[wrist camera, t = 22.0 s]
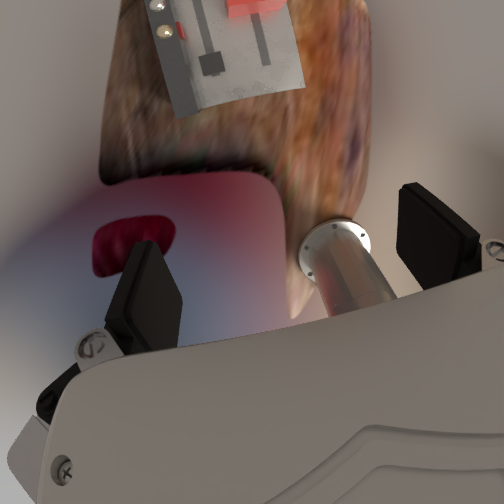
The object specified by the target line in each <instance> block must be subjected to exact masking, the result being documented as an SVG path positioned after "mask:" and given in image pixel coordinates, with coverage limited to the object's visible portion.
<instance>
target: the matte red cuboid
mask: <svg viewBox="0 0 504 504" xmlns="http://www.w3.org/2000/svg"><path fill="white" fill-rule="evenodd" d="M287 1H288V0H224V3H225V6H226V10H227V14H228V18H232V17H238V16H243V15H249V14H255V13H261V12H268V11H276V10H280V9H281V8H282V7H283V6H284V4H285V3H286V2H287Z"/></svg>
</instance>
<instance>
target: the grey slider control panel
mask: <svg viewBox="0 0 504 504" xmlns="http://www.w3.org/2000/svg"><path fill="white" fill-rule="evenodd" d="M144 2H145V6H146V10H147V14H148V18H149V22H150V26H151V30H152V34H153V38H154V41H155V45H156V49H157V53H158V56H159V60H160V64H161V67H162V71H163V75H164V78H165V82H166V85H167V89H168V92H169V96H170V99H171V103H172V106H173V110H174V113H175V117H176V119H179V118H183V117H186V116H190V115H193V114H197V113H199V112H200V111H201V110H202V108H206V107H209V106H213V105H217V104H221V103H225V102H230V101H234V100H238V99H243V98H248V97H252V96H257V95H262V94H268V93H273V92H279V91H285V90H291V89H298V88H305V83H304V78H303V73H302V68H301V63H300V58H299V54H298V49H297V45H296V40H295V36H294V31H293V27H292V23H291V19H290V15H289V11H288V7H287V3H285V4H284V6H283V7H282V8H281V9H280V10H276V11H268V12H261V13H255V14H249V15H243V16H238V17H232V18H228V14H227V10H226V6H225V3H224V0H144ZM218 51H221V55H222V58H223V62H224V66H225V70H226V71H225V72H221V73H217V74H213V75H209V76H203V73H202V69H201V65H200V62H199V58H198V56H202V55H206V54H210V53H214V52H218Z"/></svg>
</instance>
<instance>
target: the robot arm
mask: <svg viewBox="0 0 504 504" xmlns="http://www.w3.org/2000/svg"><path fill="white" fill-rule="evenodd" d="M479 239H480V234H479V233H478V232H477V231H476V230H475V229H473V228H472V227H471V226H470V225H469V224H468V223H467V222H466V221H464V220H463V219H462V218H461V217H460V216H459V215H458V214H456V213H455V212H454V211H453V210H452V209H450V208H449V207H448V206H447V205H445V204H444V203H443V202H442V201H441V200H439V199H438V198H437V197H436V196H434V195H433V194H432V193H431V192H429V191H428V190H427V189H425V188H424V187H423V186H421V185H420V184H419V183H417V182H415V183H409V184H404V185H403V186H402V189H400V190H399V205H398V227H397V242H396V250H397V253H398V255H399V257H400V258H401V259H402V261H403V262H404V264H405V265H406V266H407V268H408V269H409V270H410V272H411V273H412V274H413V276H414V277H415V279H416V280H417V281H418V283H419V284H420V286H421V287H422V289H423V291H420V292H417V293H414V294H411V295H408V296H405V297H401V298H397V296H396V294H395V293H394V291H393V289H392V288H391V286H390V285H389V283H388V281H387V280H386V278H385V277H384V275H383V273H382V272H381V271H380V269H379V267H378V266H377V264H376V263H375V261H374V259H373V258H372V257H371V255H370V247H371V246H370V239H369V236H368V234H367V233H366V231H365V230H364V228H363V227H362V226H361V225H359V224H358V223H356V222H354V221H352V220H349V219H332V220H329V221H326V222H323V223H321V224H319V225H317V226H316V227H315V228H313V229H312V230H311V231H310V232H309V233H308V234H307V235H306V236H305V238H304V239H303V241H302V243H301V245H300V248H299V252H298V261H299V265H300V267H301V270H302V272H303V273H304V275H305V276H306V277H307V278H309V279H310V280H312V281H314V282H316V284H317V286H318V289H319V291H320V294H321V297H322V300H323V303H324V305H325V308H326V311H327V314H328V318H324V319H320V320H316V321H312V322H308V323H303V324H299V325H295V326H290V327H286V328H281V329H276V330H271V331H266V332H262V333H256V334H252V335H246V336H241V337H236V338H230V339H225V340H219V341H213V342H207V343H202V344H196V345H189V346H182V347H177V343H178V335H179V327H180V319H181V312H182V304H183V302H182V296H181V294H180V292H179V290H178V288H177V286H176V283H175V282H174V279H173V277H172V275H171V273H170V271H169V269H168V266H167V264H166V262H165V260H164V258H163V255H162V253H161V251H160V249H159V246H158V244H157V243H156V242H154V243H153V242H152V241H151V240H147V241H143V242H139V243H136V244H135V245H134V248H133V250H132V252H131V254H130V257H129V259H128V261H127V264H126V266H125V268H124V271H123V273H122V276H121V278H120V281H119V283H118V285H117V288H116V291H115V293H114V296H113V298H112V301H111V303H110V306H109V309H108V311H107V314H106V317H105V322H106V324H105V327H104V329H103V328H96V329H92V330H90V331H88V332H87V333H85V334H84V335H83V336H82V337H81V338H80V339H79V341H78V342H77V344H76V346H75V350H74V355H75V359H76V361H77V362H76V363H75V364H74V365H72V366H71V367H70V368H69V369H68V370H67V371H65V372H64V373H63V374H62V375H61V376H60V377H58V378H57V379H56V380H55V381H54V382H53V383H51V384H50V385H49V386H48V387H47V388H46V389H45V390H44V391H43V392H42V393H41V394H40V396H39V398H38V400H37V404H36V411H37V414H38V415H37V417H35V416H34V415H32V417H31V418H30V420H29V421H28V423H27V424H26V426H25V427H24V428H23V430H22V431H21V433H20V434H19V436H18V437H17V439H16V441H15V442H14V443H13V445H12V446H11V448H10V450H9V452H8V457H7V462H8V466H9V468H10V470H11V471H12V473H13V474H14V476H15V477H16V479H17V480H18V481H19V483H20V484H21V485H22V487H23V488H24V490H25V491H26V492H27V493H28V495H29V496H30V497H31V498H32V500H33V501H34V502H35V504H504V241H501V240H498V239H488V240H486V241H484V242H483V243H482V245H481V244H480V243H479Z"/></svg>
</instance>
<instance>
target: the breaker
mask: <svg viewBox="0 0 504 504" xmlns="http://www.w3.org/2000/svg"><path fill="white" fill-rule="evenodd" d="M198 58H199V62H200V65H201V69H202V73H203V76H209V75H213V74H217V73H221V72H225V71H226V70H225V66H224V62H223V58H222V55H221V51H218V52H214V53H210V54H206V55H202V56H198Z"/></svg>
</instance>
